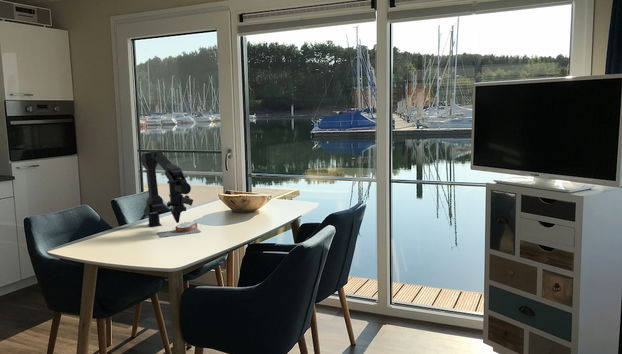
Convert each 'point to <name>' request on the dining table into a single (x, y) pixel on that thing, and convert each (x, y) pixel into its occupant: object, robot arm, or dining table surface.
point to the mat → (176, 233)
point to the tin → (186, 227)
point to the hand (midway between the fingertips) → (177, 222)
